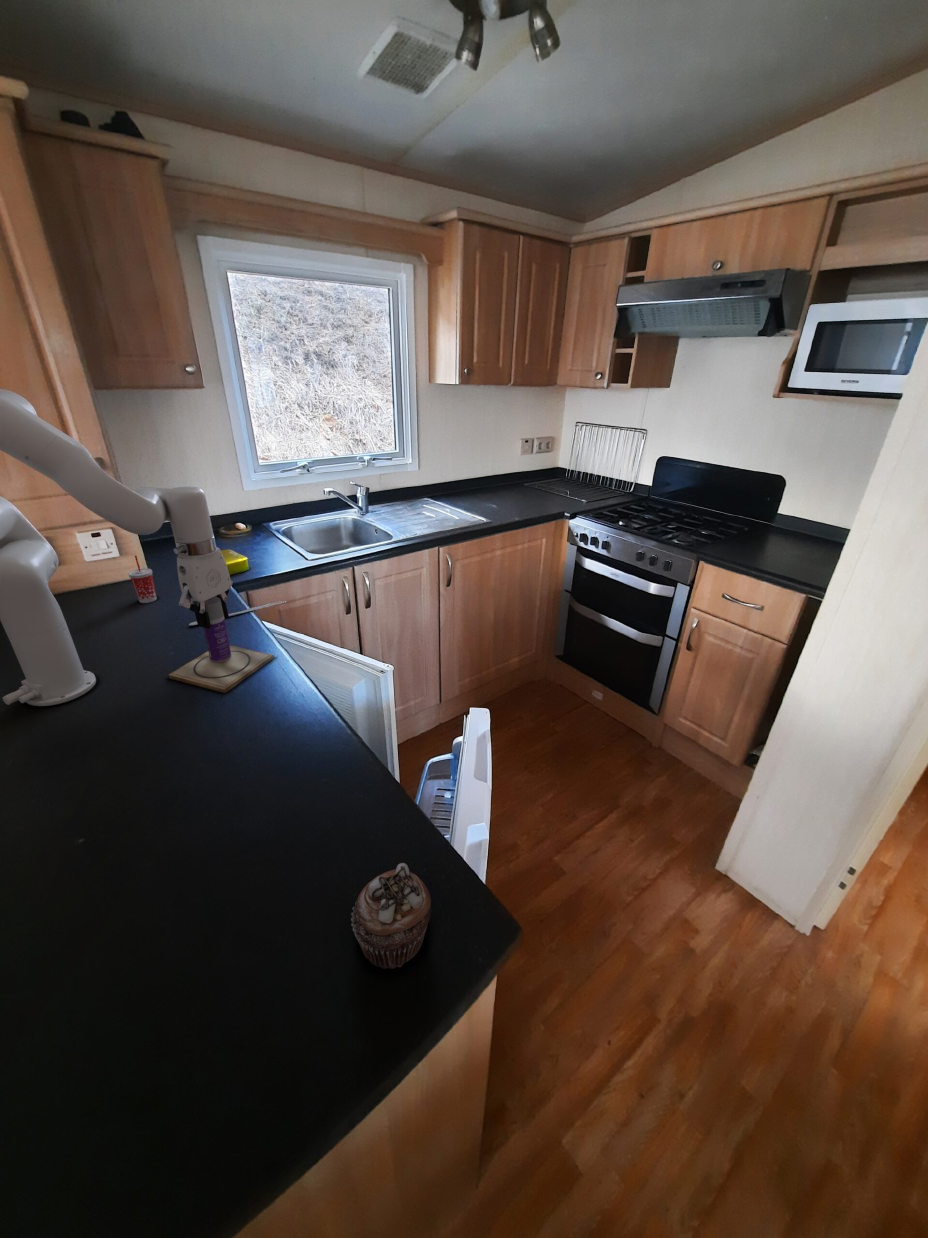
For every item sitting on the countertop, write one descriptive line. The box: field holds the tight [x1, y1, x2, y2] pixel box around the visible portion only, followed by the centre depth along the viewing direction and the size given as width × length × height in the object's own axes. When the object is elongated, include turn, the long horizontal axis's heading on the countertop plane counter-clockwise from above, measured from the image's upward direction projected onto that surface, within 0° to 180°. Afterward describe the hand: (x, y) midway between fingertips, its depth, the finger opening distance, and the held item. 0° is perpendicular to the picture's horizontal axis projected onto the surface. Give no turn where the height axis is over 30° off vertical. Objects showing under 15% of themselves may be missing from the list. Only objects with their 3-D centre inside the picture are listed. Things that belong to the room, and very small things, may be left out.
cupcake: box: [350, 862, 432, 970], centre depth 61 cm, size 10×10×10 cm
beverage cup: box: [127, 555, 158, 604], centre depth 150 cm, size 6×6×14 cm
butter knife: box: [188, 600, 287, 627], centre depth 146 cm, size 1×27×3 cm
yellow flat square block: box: [220, 548, 250, 576], centre depth 175 cm, size 15×15×5 cm
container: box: [203, 597, 231, 663], centre depth 118 cm, size 5×5×15 cm
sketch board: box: [168, 644, 275, 694], centre depth 119 cm, size 16×16×1 cm
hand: (213, 621), depth 117 cm, fingers closed on container, 4 cm apart
